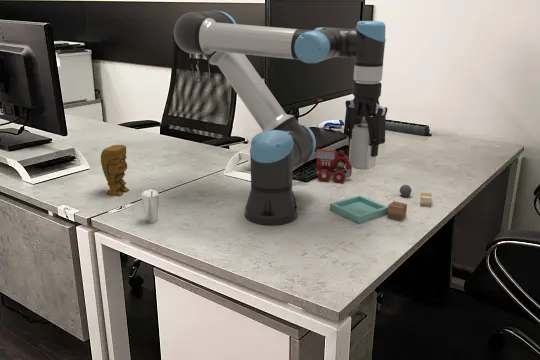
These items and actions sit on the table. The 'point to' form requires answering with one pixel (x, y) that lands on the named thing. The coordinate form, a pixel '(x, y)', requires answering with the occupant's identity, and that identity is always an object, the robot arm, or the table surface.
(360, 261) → the table surface
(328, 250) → the table surface
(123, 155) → the figurine
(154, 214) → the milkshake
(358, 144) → the beverage can
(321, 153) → the toy fire truck
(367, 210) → the tray
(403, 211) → the walnut block
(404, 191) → the black rubber ball
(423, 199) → the beech block
